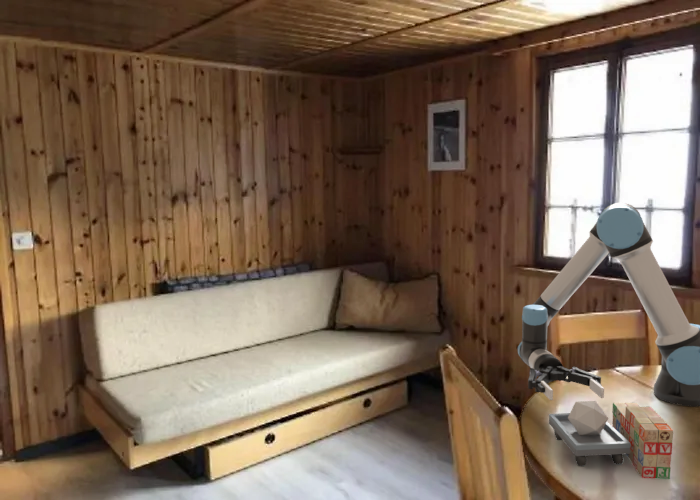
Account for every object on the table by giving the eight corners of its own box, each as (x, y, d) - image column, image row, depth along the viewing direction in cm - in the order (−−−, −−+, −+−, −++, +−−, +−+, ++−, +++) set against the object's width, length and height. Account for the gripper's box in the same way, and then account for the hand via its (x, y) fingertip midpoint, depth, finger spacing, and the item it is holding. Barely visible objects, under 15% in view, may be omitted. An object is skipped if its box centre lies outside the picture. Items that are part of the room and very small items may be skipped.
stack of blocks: (611, 434, 149) (613, 391, 147) (635, 435, 148) (637, 391, 146) (641, 478, 128) (644, 428, 126) (670, 480, 127) (673, 429, 126)
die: (603, 446, 134) (618, 410, 136) (570, 428, 135) (586, 392, 137) (588, 442, 142) (603, 408, 144) (558, 425, 143) (573, 391, 145)
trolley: (596, 433, 150) (597, 412, 149) (629, 467, 133) (630, 443, 132) (548, 435, 149) (549, 413, 148) (575, 469, 132) (576, 445, 132)
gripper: (586, 375, 167) (623, 405, 146) (504, 379, 166) (529, 409, 145) (587, 351, 166) (624, 378, 145) (504, 355, 165) (530, 382, 144)
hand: (577, 394), depth 145 cm, fingers open, 13 cm apart
